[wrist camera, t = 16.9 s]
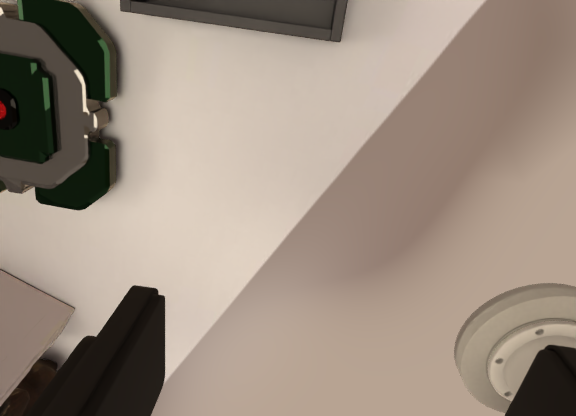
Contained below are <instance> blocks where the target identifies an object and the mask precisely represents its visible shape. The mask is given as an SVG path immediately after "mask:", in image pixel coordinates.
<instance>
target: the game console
mask: <svg viewBox="0 0 576 416" xmlns="http://www.w3.org/2000/svg"><path fill="white" fill-rule="evenodd" d="M73 311H74V308H72V307H70V306H68V305H66V304H64V303H62V302H60V301H58V300H57V299H55V298H53V297H51V296H49V295H47V294H45V293H43V292H41V291H39V290H37V289H36V288H34V287H32V286H30V285H28V284H26V283H24V282H22V281H20V280H18V279H16V278H15V277H13V276H11V275H9V274H7V273H5V272H3V271H1V270H0V406H1V405H2V404H3V403H4V401H5V400H6V399H7V398H8V397H9V395H10V394H11V393H12V392H13V390H14V389H15V388H16V387H17V386H18V384H19V383H20V382H21V381H22V379H23V378H24V377H25V376H26V375H27V373H28V372H29V371H30V369H31V367H32V366H33V364H34V363H35V362H36V361H37V360H38V359H39V358H40V357H41V355H42V354H43V353H44V352H45V351H46V350H47V349H48V348H50V347H51V346H52V345H53V343H54V342H55V340H56V338H57V337H58V336H59V335H60V334H61V332H62V331H63V329H64V327H65V325H66V324H67V322H68V320H69V318H70V316H71V315H72V313H73Z"/></svg>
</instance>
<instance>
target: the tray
mask: <svg viewBox="0 0 576 416" xmlns="http://www.w3.org/2000/svg"><path fill="white" fill-rule="evenodd" d="M347 1H348V0H120V10H121V11H124V12H132V13H138V14H145V15H152V16H159V17H166V18H173V19H180V20H187V21H194V22H201V23H208V24H215V25H222V26H229V27H235V28H242V29H249V30H256V31H263V32H270V33H277V34H284V35H291V36H298V37H305V38H312V39H319V40H326V41H333V42H340V41H341V36H342V30H343V25H344V19H345V13H346V7H347Z"/></svg>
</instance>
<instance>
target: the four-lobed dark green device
mask: <svg viewBox="0 0 576 416" xmlns="http://www.w3.org/2000/svg"><path fill="white" fill-rule="evenodd" d="M17 2H18V6H17V5H13V4H8V3H3V2H0V193H2V192H4V191H5V190H8V191H9V192H15V193H20V194H22V193H24V192H26V191H28V190H29V189H31V188H33V187H35V194H36V200H37V201H38V202H39V203H40V204H46V205H51V206H57V207H62V208H68V209H73V210H83V209H86V208H87V207H88V206H90V205H91V204H93V203H94V202H95V201H97V200H98V199H99V198H101V197H102V196H103V195H105V194H106V193H107V192H109V191H110V190H111V189H112V188H113V187H114V185H115V183H116V145H115V144H114V143H113V142H112V141H111V140H107V139H101V138H99V130H100V129H102V128H104V127H106V126H107V124H108V123H109V119H108V112H107V110H106V108H101V106H100V104H99V103H98V101H102V102H108V101H110V100H113V99H114V98H115V97H116V96H117V64H116V49H115V47H114V44H113V42H112V41H111V40H110V38H109V37H108V36H107V35H106V33H105V32H104V31H103V30H102V28H101V27H100V26H99V25H98V23H97V22H96V21H95V20H94V18H93V17H92V16H91V15H90V13H89V12H88V11H87V10H86V9H85V8H84V7H82V6H81V5H79V4H78V3H73V2H67V1H62V0H17Z"/></svg>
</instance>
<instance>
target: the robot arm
mask: <svg viewBox="0 0 576 416" xmlns="http://www.w3.org/2000/svg"><path fill="white" fill-rule="evenodd" d="M486 371H487V375H488V378H489V380H490V382H491V384H492V386H493V388H494V389H495V390H496V391H497V393H498V394H500V395H501V396H502V397H504V398H505V399H507V400H509V401H511V404H510V406H509V408H508V410H507V412H506V414H505V416H576V322H575V321H572V320H566V319H544V320H537V321H534V322H530V323H527V324H524V325H522V326H520V327H517V328H515V329H514V330H512V331H511V332H509V333H507V334H506V335H505V336H504V337H502V338H501V339H500V340H499V341H498V342H497V343H496V345H495V346H494V347H493V348H492V350H491V352H490V354H489V356H488V360H487V363H486ZM164 378H165V297H164V296H163V295H158V290H157V289H156V288H150V287H143V286H136V285H134V286H132V287H131V288H130V290H129V291H128V293H127V294H126V295H125V297H124V298H123V300H122V301H121V303H120V304H119V305H118V307H117V308H116V310H115V311H114V313H113V314H112V315H111V317H110V318H109V320H108V321H107V323H106V324H105V325H104V327H103V328H102V330H101V331H100V333H99V334H98V335H97V337H95V336H86V337H85V338H83V339H82V340H81V342H80V343H79V344H78V345H77V346H76V348H75V349H74V351H73V352H72V353H71V355H70V356H69V357H68V359H67V360H66V361H65V363H64V364H63V365H62V367H61V368H60V369H59V371H58V372H57V373H56V375H55V376H54V378H53V379H52V380H51V382H50V383H49V384H48V386H47V387H46V388H45V390H44V391H43V392H42V394H41V395H40V396H39V398H38V399H37V400H36V402H35V403H34V405H33V406H32V407H31V409H30V410H29V411H28V413H27V414H26V415H25V416H151V414H152V411H153V409H154V406H155V404H156V401H157V399H158V397H159V394H160V392H161V389H162V386H163V383H164Z"/></svg>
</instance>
